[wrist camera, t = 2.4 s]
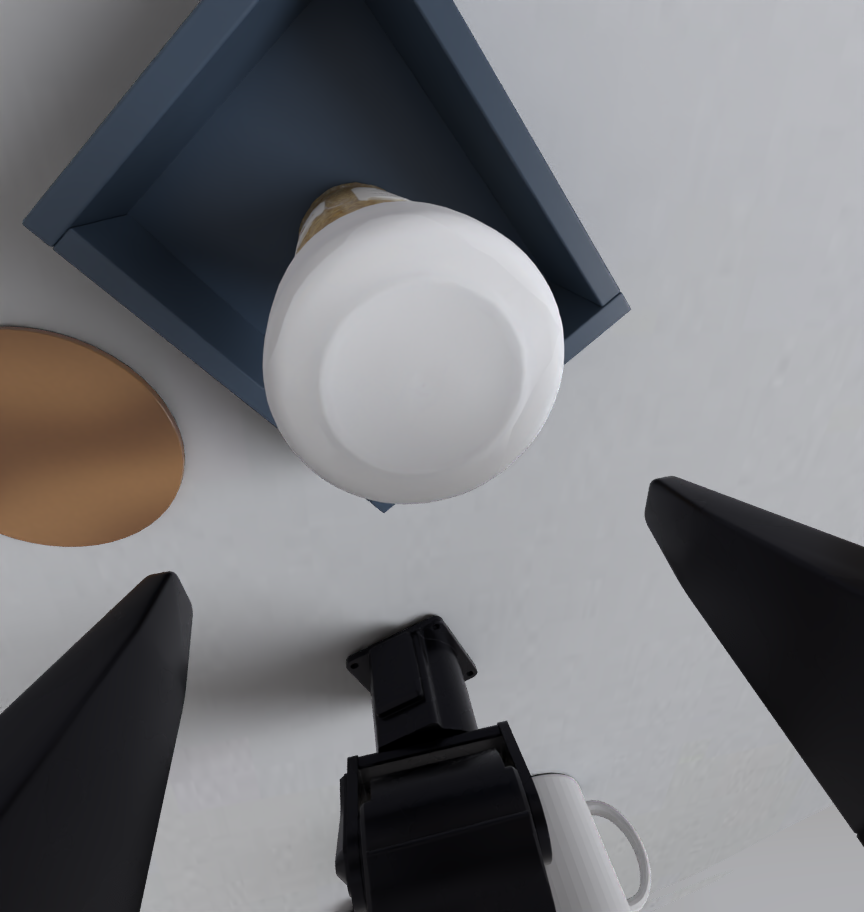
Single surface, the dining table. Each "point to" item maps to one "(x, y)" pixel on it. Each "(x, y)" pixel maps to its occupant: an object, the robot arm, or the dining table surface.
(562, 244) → the bin
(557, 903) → the mug
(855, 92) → the dining table surface
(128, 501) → the cork coaster
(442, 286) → the sprinkles bottle
